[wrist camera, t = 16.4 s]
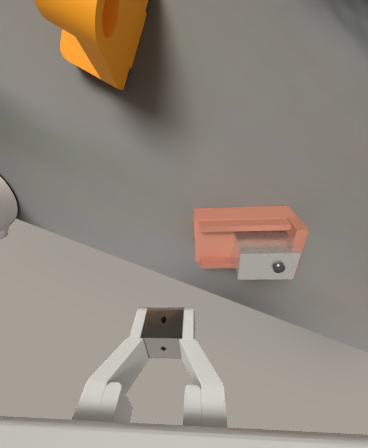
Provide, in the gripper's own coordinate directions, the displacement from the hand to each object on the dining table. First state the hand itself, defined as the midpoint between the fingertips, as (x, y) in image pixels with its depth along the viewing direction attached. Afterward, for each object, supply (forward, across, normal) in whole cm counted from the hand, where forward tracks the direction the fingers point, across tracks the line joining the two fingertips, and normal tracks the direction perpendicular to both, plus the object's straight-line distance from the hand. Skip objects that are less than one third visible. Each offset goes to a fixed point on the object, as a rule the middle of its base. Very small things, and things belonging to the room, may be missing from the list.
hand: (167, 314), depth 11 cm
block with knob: (+21, -11, +11) cm, 26 cm away
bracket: (+25, +8, -18) cm, 32 cm away
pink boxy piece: (+25, -9, +11) cm, 29 cm away
